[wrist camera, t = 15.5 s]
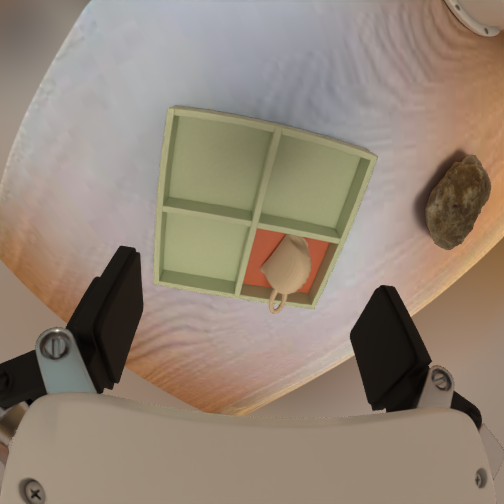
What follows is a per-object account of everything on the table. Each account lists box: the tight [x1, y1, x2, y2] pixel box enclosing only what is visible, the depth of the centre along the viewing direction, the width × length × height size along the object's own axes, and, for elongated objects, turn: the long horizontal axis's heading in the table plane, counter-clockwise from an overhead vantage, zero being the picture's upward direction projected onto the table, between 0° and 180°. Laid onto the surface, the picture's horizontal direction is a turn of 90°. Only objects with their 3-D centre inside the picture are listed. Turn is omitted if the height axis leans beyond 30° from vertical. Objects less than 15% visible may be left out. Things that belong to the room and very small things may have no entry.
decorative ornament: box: [260, 234, 312, 314], centre depth 33 cm, size 4×8×5 cm, turn 147°
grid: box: [154, 106, 378, 309], centre depth 31 cm, size 21×21×3 cm
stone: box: [425, 155, 491, 250], centre depth 29 cm, size 13×8×8 cm
